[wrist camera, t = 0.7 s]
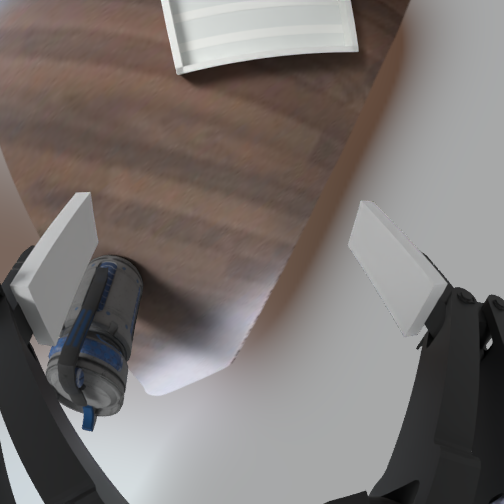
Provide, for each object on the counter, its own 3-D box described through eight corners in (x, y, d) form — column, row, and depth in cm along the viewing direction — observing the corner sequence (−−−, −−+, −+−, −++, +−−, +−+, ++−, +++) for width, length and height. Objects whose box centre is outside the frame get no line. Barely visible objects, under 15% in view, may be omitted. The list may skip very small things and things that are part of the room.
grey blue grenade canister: (144, 240, 43) (109, 390, 23) (144, 305, 50) (127, 440, 30) (82, 234, 41) (16, 370, 21) (91, 298, 48) (54, 425, 28)
